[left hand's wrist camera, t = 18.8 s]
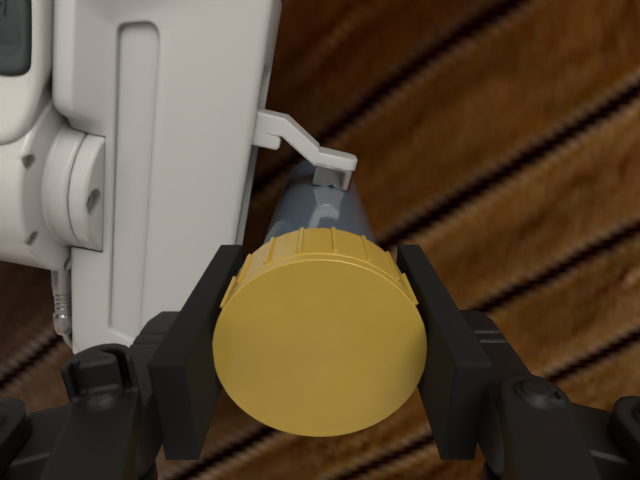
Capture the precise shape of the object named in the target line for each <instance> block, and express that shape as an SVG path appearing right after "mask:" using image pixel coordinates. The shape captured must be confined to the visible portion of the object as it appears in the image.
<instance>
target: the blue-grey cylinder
mask: <svg viewBox="0 0 640 480" xmlns="http://www.w3.org/2000/svg"><path fill="white" fill-rule="evenodd" d="M314 168H315V166H314V165H313V164H312V163H311V162H309V161H308V160H304V161H302V162H301V163H299V164H297V165H296V166H295V167H294V168H293V169H292V170H291V171H290V172H289V174H288V175H287V177H286V179H285V182H284V185H283V188H282V190H281V193H280V196H279V199H278V201H277V204H276V207H275V210H274V213H273V215H272V218H271V221H270V224H269V226H268V229H267V232H266V235H265V238H264V240H263V243H262V246H263V245H264V244H266V243H268V242H269V241H270V239H271V238H272V237H275V238H277V237H279V236H281V235H284V234H286V233H290V232H293V231H297V230H300V228H302V227H304V229H309V228H329V229H332V227H336V229H337V230H342V231H346V232H350V233H353V234H356V235H358V236H362V235H364V236H365V237H366V239H367V240H369V241H371V242H372V243H374V244H375V245H377V246H378V244H377V241H376V238H375V236H374V233H373V230H372V227H371V224H370V222H369V219H368V216H367V213H366V211H365V208H364V205H363V202H362V200H361V197H360V194H359V191H358V188H357V186H356V183H355V180H354V178H353V179H352V182H351V186H350V190H349V191H342V190H338V189H335V188H334V186H333V185H331V186H328V187H324V186H319V185H315V184H312V182H313V173H314Z"/></svg>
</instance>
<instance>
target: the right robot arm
mask: <svg viewBox="0 0 640 480" xmlns="http://www.w3.org/2000/svg"><path fill="white" fill-rule="evenodd" d="M280 14H281V0H0V260H1V261H7V262H12V263H17V264H22V265H28V266H33V267H38V268H43V269H48V270H51V287H52V294H53V299H54V310H53V314H52V323H53V327H54V330H55V333H56V334H58V335H62V337H63V339H64V341H65V342H66V344H67V345H68V346H69V347H70V348H71V349H72V350H73V353H74V354H77V353H78V352H81V351H83V350H85V349H87V348H90V347H93V346H97V345H101V344H108V343H118V344H122V345H126V346H127V347H128V348H129V347H130V345H131V344H133V341H134V340H135V338H136V337H137V336H138V335H140V331H141V330H142V329H143V327H144V326H145V325H146V323H147V322H148V321H149V320H150V319H152V318H153V317H155V316H156V315H157V314H159V313H160V312H162V311H181V309H182V307H183V306H184V304H185V302H186V301H187V299H188V298H189V296H190V294H191V293H192V291H193V289H194V288H195V286H196V285H197V283H198V281H199V280H200V278H201V276H202V275H203V273H204V272H205V270H206V268H207V267H208V265H209V263H210V262H211V260H212V259H213V257H214V255H215V254H216V252H217V250H218V249H219V247H220V246H221V245H243V239H244V233H245V227H246V221H247V215H248V209H249V203H250V197H251V191H252V185H253V179H254V172H255V166H256V160H257V154H258V148H259V146H260V147H265V148H269V149H274V150H277V149H278V148H279V147H280V146H281V144H282V143H283V140H284V139H285V140H286V141H287V142H288V143H289V144H290V145H291V146H293V147H294V148H295V149H296V150H297V151H298V152H299V153H300V154H302V155H303V156H304V157H305V158H306V159H307V160H308V161H309V162H311V163H312V164H313V165H314V166H315V168H314V173H313V182H312V184H315V185H319V186H324V187H328V186H331V185H333V186H334V188H335V189H338V190H342V191H349V190H350V186H351V182H352V179H353V175H354V172H355V168H356V164H357V158H356V156H354V155H352V154H349V153H346V152H341V151H337V150H333V149H328V148H324V147H320V146H319V143H318V142H317V141H316V140H315V139H314V138H313V137H312V136H311V135H310V134H308V133H307V132H306V131H305V130H304V129H303V128H302V127H301V126H300V125H299V124H298V123H297V122H296V121H295V120H294V119H293V118H292V117H290V116H289V115H287V114H283V113H279V112H275V111H270V110H266V109H265V106H266V100H267V93H268V87H269V81H270V75H271V69H272V63H273V57H274V51H275V45H276V39H277V33H278V26H279V20H280ZM71 333H72V336H71Z"/></svg>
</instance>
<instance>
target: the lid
mask: <svg viewBox="0 0 640 480" xmlns="http://www.w3.org/2000/svg"><path fill="white" fill-rule="evenodd" d="M417 304H418V301H417V299H416V297H415V295H414V292H413V290H412V288H411V286H410V284H409V281H408V279H407V277H406V275H405V273H403V274H402V273H401V271H400V270H399V268H398V266H397V265H396V264H395V262H394V261H393V260H392V258H391V255H390V253H389V252H388V251H387V252H386V253H385V252H384V251H383V250H382V249H381V248H379V247H378V246H377V245H375V244H374V243H372V242H371V241H369V240H367V239H366V237H365V236H364V235H362V236H358V235H356V234H353V233H350V232H346V231H342V230H337V229H336V227H332V229H329V228H309V229H304V227H302V228H300V230H297V231H293V232H290V233H286V234H284V235H281V236H279V237H277V238H275V237H272V238H271V239H270V241H269V242H268V243H266V244H264V245H263V246H261V247H260V248H259V249H258V250H256V251H255V252H254V253H253V254H252V255H251V254H249V255H248V256H247V258H246V260H245V263H244V264H243V266H242V267H241V269H240V270H239V272H238V274H237V276H236V277H235V276H233V278H232V280H231V282H230V285H229V287H228V289H227V291H226V294H225V296H224V298H223V300H222V302H221V305H220V308H222V310H221V312H220V315H219V317H218V319H217V322H216V326H215V329H214V333H213V340H212V347H213V356H214V364H215V370H216V373H217V376H218V378H219V380H220V382H221V384H222V386H223V388H224V389H225V391H226V392H227V394H228V395H229V396H230V398H231V399H232V400H233V401H234V402H235V403H236V404H237V405H238V406H239V407H240V408H241V409H242V410H243V411H245V412H246V413H247V414H249V415H250V416H251V417H253V418H254V419H256V420H258V421H260V422H261V423H263V424H265V425H267V426H270V427H272V428H275V429H277V430H280V431H284V432H287V433H291V434H296V435H302V436H313V437H328V436H337V435H344V434H348V433H353V432H356V431H359V430H362V429H365V428H368V427H370V426H372V425H374V424H376V423H378V422H380V421H382V420H383V419H385V418H387V417H388V416H390V415H391V414H392V413H394V412H395V411H396V410H397V409H399V408H400V407H401V406H402V405H403V404H404V403H405V402H406V401H407V399H408V398H409V397H410V396H411V394H412V393H413V392H414V390H415V388H416V387H417V385H418V383H419V381H420V379H421V377H422V374H423V372H424V368H425V362H426V353H427V335H426V331H425V327H424V323H423V321H422V319H421V316H420V314H419V311H418V309H417V307H416V305H417Z"/></svg>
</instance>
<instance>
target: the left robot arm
mask: <svg viewBox="0 0 640 480" xmlns="http://www.w3.org/2000/svg"><path fill="white" fill-rule="evenodd" d="M396 265H397V266H398V268H399V270H400V271H401V273H402V274H403V273H405V275H406V277H407V279H408V281H409V284H410V286H411V288H412V290H413V292H414V295H415V297H416V299H417V301H418V304H417V305H416V307H417V309H418V311H419V314H420V316H421V319H422V321H423V323H424V327H425V331H426V335H427V353H426V362H425V368H424V372H423V374H422V377H421V379H420V381H419V383H418V385H417V386H418V389H419V392H420V395H421V399H422V402H423V405H424V408H425V411H426V414H427V417H428V420H429V423H430V426H431V430H432V433H433V436H434V439H435V442H436V445H437V448H438V451H439V454H440V457H441V460H474V456H475V451H476V446H477V441H478V444H479V446H480V448H481V451H482V453H483V455H484V457H485V462H484V467H483V472H482V476H481V480H640V397H637V396H627V397H621V398H620V399H618V400H617V401H616V402H615V404H614V407H613V410H612V412H609V411H605V410H600V409H596V408H591V407H587V406H582V405H579V404H575V403H572V402H570V400H569V398H568V397H567V395H566V394H565V392H564V391H562V390H561V389H560V388H559V387H557V386H556V385H555V384H554V383H552V382H550V381H548V380H546V379H544V378H542V377H538V376H535V375H532V374H531V373H530V371H529V370H528V369H527V367H526V366H525V364H524V363H523V362H522V360H521V359H520V358H519V356H518V355H517V353H516V352H515V351H514V349H513V348H512V347H511V345H510V344H509V343H507V340H506V338H505V337H504V336H503V334H502V333H500V330H499V329H498V327H497V326H496V325H495V323H494V322H493V321H492V319H490V318H489V317H487V316H486V315H484V314H483V313H481V312H480V311H478V310H459V309H458V308H457V306H456V304H455V303H454V301H453V300H452V298H451V296H450V295H449V293H448V291H447V290H446V288H445V287H444V285H443V283H442V282H441V280H440V278H439V277H438V275H437V274H436V272H435V270H434V269H433V267H432V265H431V264H430V262H429V261H428V259H427V257H426V256H425V254H424V252H423V251H422V249H421V248H420V246H419V245H398V250H397V263H396ZM242 266H243V253H242V245H221V246H220V247H219V249H218V250H217V252H216V254H215V255H214V257H213V259H212V260H211V262H210V263H209V265H208V267H207V268H206V270H205V272H204V273H203V275H202V276H201V278H200V280H199V281H198V283H197V285H196V286H195V288H194V289H193V291H192V293H191V294H190V296H189V298H188V299H187V301H186V302H185V304H184V306H183V307H182V309H181V311H162V312H160V313H159V314H157V315H156V316H155V317H153V318H152V319H150V320H149V321H148V322H147V323H146V325H145V326H144V327H143V329H142V330H141V331H140V335H138V336H137V337H136V338H135V340H134V341H133V344H131V345H130V347H129V348H128V347H127V346H126V345H122V344H118V343H108V344H101V345H97V346H93V347H90V348H87V349H85V350H83V351H81V352H78V353H77V354H75V355H74V356H72V357H71V358H70V359H68V360H67V361H66V362H65V363H64V365H63V366H62V367H61V369H60V371H61V374H62V377H63V380H64V384H65V387H66V390H67V394H68V397H69V400H70V402H69V404H67V405H64V406H60V407H56V408H51V409H47V410H43V411H38V412H34V413H28V410H27V408H26V405H25V403H24V402H22V401H21V400H20V399H16V398H2V399H0V480H157V479H158V473H157V467H156V462H155V459H156V457H157V454H158V452H159V450H160V447H161V445H162V443H163V447H164V452H165V457H166V460H199V457H200V454H201V451H202V447H203V444H204V441H205V438H206V435H207V432H208V429H209V426H210V423H211V420H212V416H213V413H214V410H215V407H216V404H217V401H218V398H219V395H220V392H221V389H222V384H221V382H220V380H219V378H218V376H217V373H216V370H215V364H214V356H213V347H212V340H213V333H214V329H215V326H216V322H217V319H218V317H219V315H220V312H221V310H222V308H220V305H221V302H222V300H223V298H224V296H225V294H226V291H227V289H228V287H229V285H230V282H231V280H232V278H233V276H235V277H236V276H237V274H238V272H239V270H240V269H241V267H242Z"/></svg>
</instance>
